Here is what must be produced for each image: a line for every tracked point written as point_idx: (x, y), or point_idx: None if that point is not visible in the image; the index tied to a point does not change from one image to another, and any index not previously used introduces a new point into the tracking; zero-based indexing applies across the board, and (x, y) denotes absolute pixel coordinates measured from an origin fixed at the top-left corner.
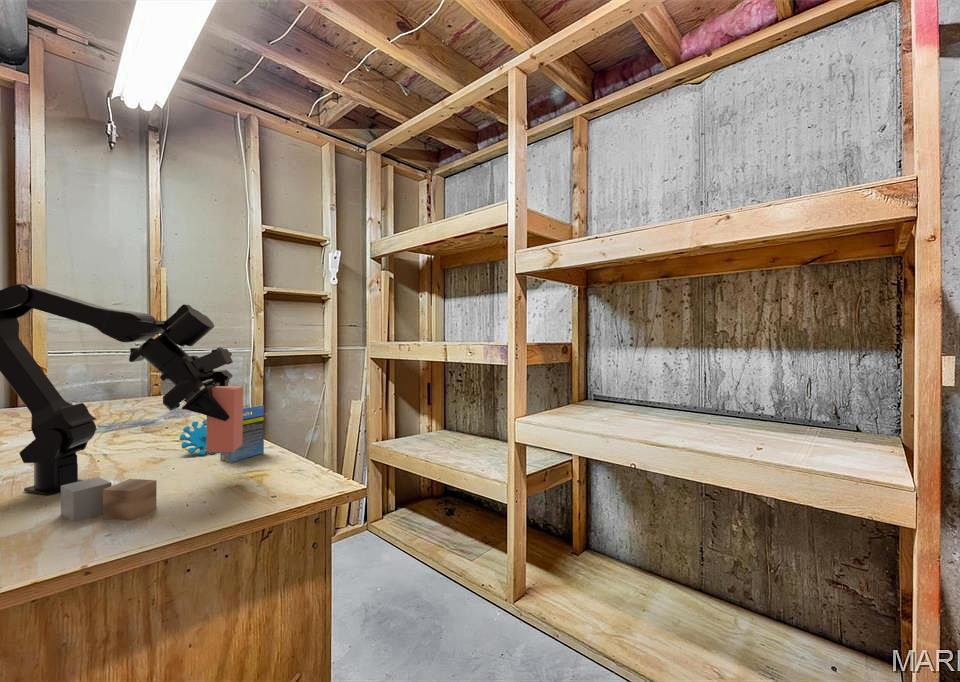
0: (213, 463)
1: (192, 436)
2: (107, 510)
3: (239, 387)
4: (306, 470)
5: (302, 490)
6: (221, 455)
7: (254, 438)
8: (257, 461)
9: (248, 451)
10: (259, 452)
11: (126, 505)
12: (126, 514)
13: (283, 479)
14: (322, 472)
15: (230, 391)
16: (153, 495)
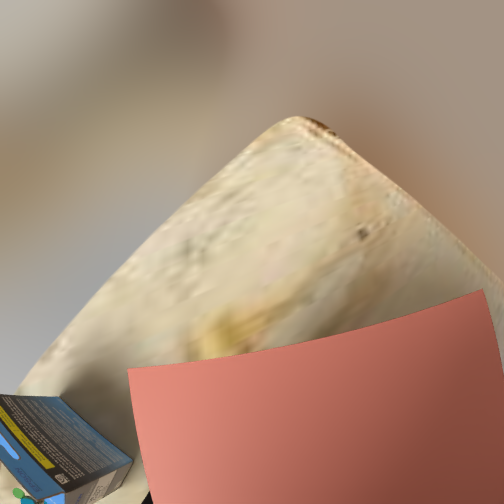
0: (144, 496)
1: None
2: None
3: (256, 367)
4: (189, 233)
5: (320, 193)
6: (114, 489)
7: (47, 417)
8: (117, 391)
9: (82, 427)
10: (64, 404)
11: None
12: None
13: (258, 260)
14: (204, 194)
15: (482, 339)
16: None
